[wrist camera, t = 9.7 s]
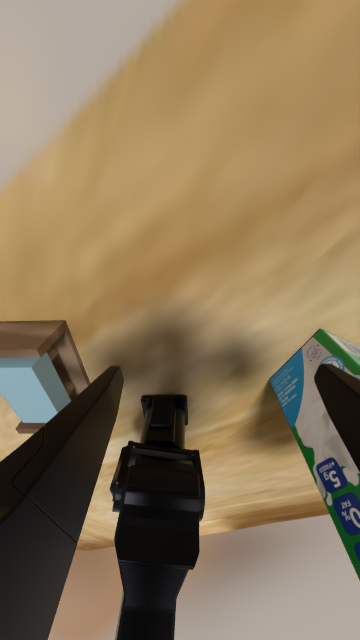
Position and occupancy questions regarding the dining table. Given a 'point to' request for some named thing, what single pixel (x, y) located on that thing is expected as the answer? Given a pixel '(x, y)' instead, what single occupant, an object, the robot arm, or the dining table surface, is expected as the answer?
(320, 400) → the milk carton
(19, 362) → the block
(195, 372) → the dining table surface
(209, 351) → the dining table surface
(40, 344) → the cradle
